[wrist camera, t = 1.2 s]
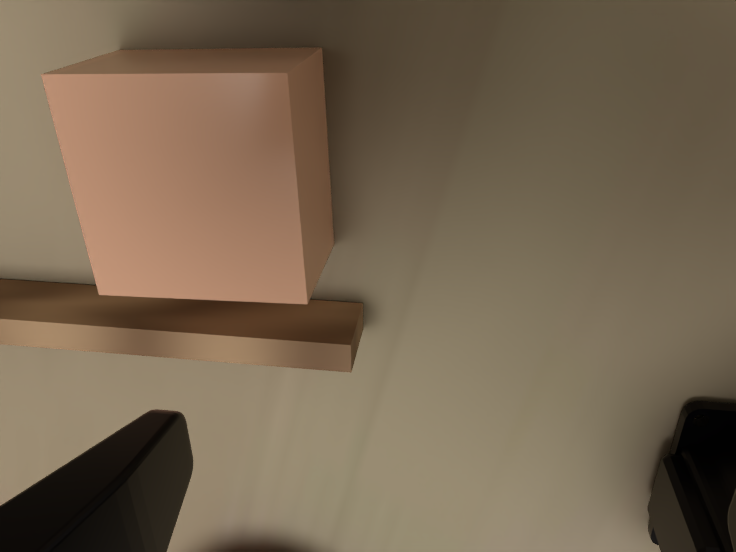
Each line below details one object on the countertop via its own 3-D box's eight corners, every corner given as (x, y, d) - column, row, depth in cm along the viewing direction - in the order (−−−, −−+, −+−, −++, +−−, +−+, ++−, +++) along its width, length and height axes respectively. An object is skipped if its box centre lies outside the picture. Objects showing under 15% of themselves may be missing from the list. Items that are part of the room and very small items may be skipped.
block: (323, 46, 18) (287, 72, 14) (335, 241, 20) (307, 304, 17) (122, 49, 19) (41, 74, 15) (159, 236, 21) (98, 294, 18)
